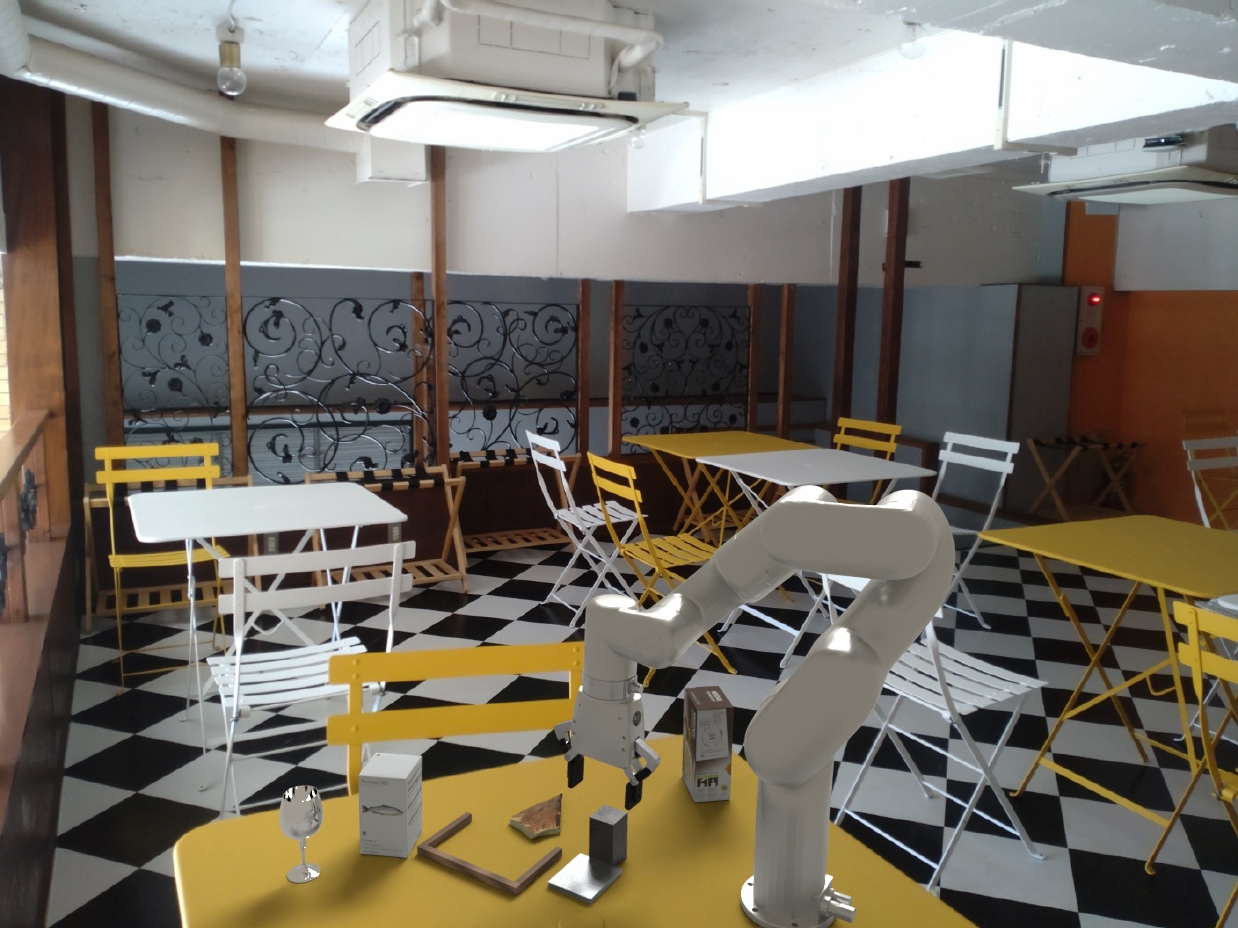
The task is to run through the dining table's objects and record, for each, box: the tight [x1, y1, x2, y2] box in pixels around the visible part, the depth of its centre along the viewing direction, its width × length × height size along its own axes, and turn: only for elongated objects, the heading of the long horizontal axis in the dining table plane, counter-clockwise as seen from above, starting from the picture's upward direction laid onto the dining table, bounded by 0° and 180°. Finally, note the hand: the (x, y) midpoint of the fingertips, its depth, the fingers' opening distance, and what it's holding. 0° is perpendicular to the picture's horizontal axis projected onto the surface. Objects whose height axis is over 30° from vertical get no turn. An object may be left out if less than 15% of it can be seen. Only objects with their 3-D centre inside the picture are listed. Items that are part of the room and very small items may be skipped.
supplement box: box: [358, 752, 423, 859], centre depth 136 cm, size 7×7×13 cm
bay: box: [416, 811, 563, 897], centre depth 134 cm, size 18×11×1 cm, turn 59°
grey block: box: [547, 804, 629, 905], centre depth 130 cm, size 12×7×7 cm, turn 149°
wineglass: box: [278, 785, 324, 884], centre depth 128 cm, size 6×6×12 cm
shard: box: [509, 792, 564, 840], centre depth 143 cm, size 11×8×2 cm
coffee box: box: [681, 685, 735, 803], centre depth 153 cm, size 9×6×16 cm
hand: (603, 794), depth 132 cm, fingers open, 9 cm apart
